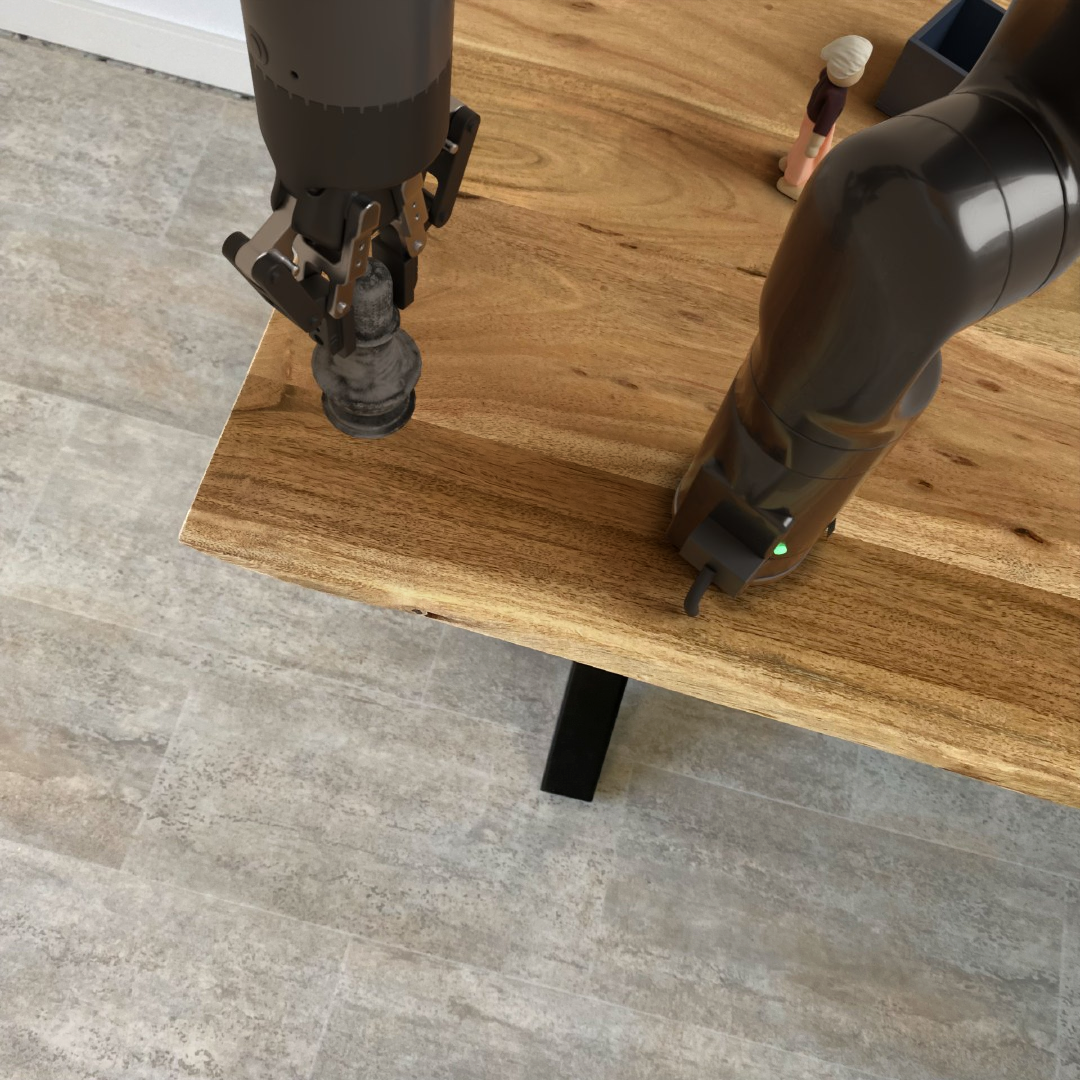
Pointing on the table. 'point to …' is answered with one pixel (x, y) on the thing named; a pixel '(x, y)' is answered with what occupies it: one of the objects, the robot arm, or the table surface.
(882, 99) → the bin
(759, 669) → the table surface
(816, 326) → the robot arm
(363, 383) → the grey chess piece
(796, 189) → the grandmother figurine
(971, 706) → the table surface
